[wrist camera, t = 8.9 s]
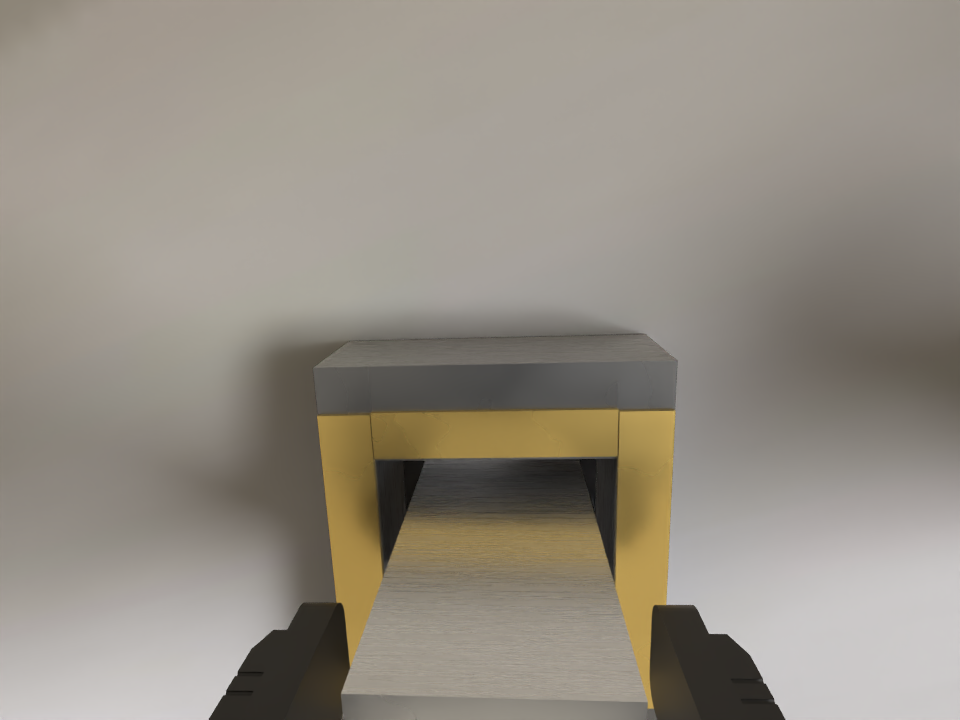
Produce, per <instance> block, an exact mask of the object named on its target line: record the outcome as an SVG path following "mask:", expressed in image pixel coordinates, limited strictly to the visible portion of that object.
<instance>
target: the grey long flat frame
mask: <svg viewBox="0 0 960 720" xmlns="http://www.w3.org/2000/svg"><path fill="white" fill-rule="evenodd" d="M313 374H314V383H315V393H316V403H317V412H318V416H317V420H318V430H319V439H320V449H321V459H322V468H323V478H324V487H325V497H326V507H327V516H328V526H329V535H330V545H331V555H332V564H333V574H334V583H335V593H336V603H342V605H343V607H344V613H345V622H346V632H347V642H348V652H349V662H350V667H351V665H352V662H353V659H354V656H355V653H356V651H357V648H358V645H359V642H360V640H361V637H362V634H363V631H364V629H365V626H366V623H367V620H368V618H369V615H370V612H371V609H372V607H373V604H374V601H375V598H376V595H377V593H378V590H379V587H380V584H381V582H382V579H383V576H384V573H385V571H386V568H387V565H388V562H389V560H390V557H391V554H392V551H393V549H394V546H395V543H396V540H397V537H398V535H399V532H400V529H401V526H402V524H403V521H404V518H405V515H406V513H407V512H406V498H405V483H404V469H403V461H425V460H521V459H596V510H595V518H596V521H597V525H598V528H599V532H600V535H601V539H602V542H603V546H604V549H605V553H606V556H607V560H608V563H609V567H610V571H611V574H612V578H613V581H614V585H615V588H616V592H617V595H618V599H619V602H620V606H621V609H622V613H623V616H624V620H625V623H626V627H627V630H628V634H629V637H630V641H631V645H632V648H633V652H634V655H635V659H636V662H637V666H638V669H639V673H640V676H641V680H642V683H643V687H644V690H645V694H646V697H647V701H648V709H647V720H657V718H656V714H655V711H654V707H653V702H652V696H651V689H650V647H651V623H652V610H653V606H654V605H666V598H667V577H668V556H669V535H670V514H671V493H672V472H673V451H674V430H675V400H676V379H677V360H676V359H675V358H674V357H673V356H671V355H670V354H669V353H668V352H666V351H665V350H664V349H663V348H662V347H660V346H659V345H658V344H657V343H656V342H654V341H653V340H652V339H651V338H649V337H648V336H647V335H646V334H632V335H588V336H543V337H499V338H455V339H411V340H367V341H349V342H347V343H346V344H345V345H343V346H342V347H340V348H339V349H338V350H336V351H335V352H334V353H332V354H331V355H330V356H328V357H327V358H325V359H324V360H323V361H321V362H320V363H319V364H317V365H316V366H315V367H313Z"/></svg>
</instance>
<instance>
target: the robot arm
mask: <svg viewBox="0 0 960 720" xmlns="http://www.w3.org/2000/svg"><path fill="white" fill-rule="evenodd" d="M349 670H350V662H349V652H348V642H347V632H346V622H345V613H344V607H343V605H342V603H303V604H302V605H301V606H300V608H299V609H298V611H297V613H296V615H295V617H294V618H293V620H292V622H291V624H290V626H289V628H288V629H287V630H273V631H272V632H271V633H269V634H268V635H267V636H266V637H265V638H264V639H263V640H261V641H260V642H259V643H258V644H257V645H256V646H254V647H253V648H252V649H251V651H250V652H249V654H248V656H247V657H246V659H245V661H244V662H243V664H242V666H241V667H240V669H239V670H238V675H237V676H235V677H234V679H233V680H232V682H231V684H230V685H229V687H228V689H227V690H226V695H223V697H222V698H221V700H220V702H219V703H218V705H217V707H216V708H215V710H214V712H213V713H212V715H211V717H210V718H209V720H341V717H342V714H343V712H342V701H341V692H342V689H343V687H344V684H345V681H346V678H347V676H348V673H349ZM650 689H651V696H652V702H653V707H654V711H655V714H656V718H657V720H785V718H784V716H783V714H782V712H781V711H780V709H779V707H778V705H777V704H775V702H774V698H773V696H772V694H771V693H770V691H769V689H768V687H767V685H766V684H764V683H763V678H762V676H761V674H760V673H759V671H758V669H757V667H756V665H755V664H754V662H753V660H752V658H751V656H750V655H749V654H748V653H747V652H746V651H745V650H744V649H743V648H742V647H740V646H739V645H738V644H737V643H736V642H735V641H734V640H733V639H732V638H730V637H729V636H728V635H727V634H709V633H708V631H707V629H706V627H705V625H704V623H703V621H702V619H701V617H700V614H699V612H698V610H697V609H696V607H695V606H694V605H654V606H653V610H652V623H651V647H650Z"/></svg>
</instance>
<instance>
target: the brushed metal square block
mask: <svg viewBox="0 0 960 720" xmlns="http://www.w3.org/2000/svg"><path fill="white" fill-rule="evenodd" d="M341 701H342V712H343V720H647V709H648V701H647V697H646V694H645V690H644V687H643V683H642V680H641V676H640V673H639V669H638V666H637V662H636V659H635V655H634V652H633V648H632V645H631V641H630V637H629V634H628V630H627V627H626V623H625V620H624V616H623V613H622V609H621V606H620V602H619V599H618V595H617V592H616V588H615V585H614V581H613V578H612V574H611V571H610V567H609V563H608V560H607V556H606V553H605V549H604V546H603V542H602V539H601V535H600V532H599V528H598V525H597V521H596V518H595V514H594V511H593V507H592V504H591V500H590V497H589V493H588V489H587V486H586V482H585V479H584V475H583V472H582V468H581V465H580V461H579V459H521V460H425V463H424V466H423V468H422V471H421V474H420V477H419V480H418V482H417V485H416V488H415V491H414V493H413V496H412V499H411V502H410V504H409V507H408V510H407V513H406V515H405V518H404V521H403V524H402V526H401V529H400V532H399V535H398V537H397V540H396V543H395V546H394V549H393V551H392V554H391V557H390V560H389V562H388V565H387V568H386V571H385V573H384V576H383V579H382V582H381V584H380V587H379V590H378V593H377V595H376V598H375V601H374V604H373V607H372V609H371V612H370V615H369V618H368V620H367V623H366V626H365V629H364V631H363V634H362V637H361V640H360V642H359V645H358V648H357V651H356V653H355V656H354V659H353V662H352V665H351V667H350V670H349V673H348V676H347V678H346V681H345V684H344V687H343V689H342V692H341Z"/></svg>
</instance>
